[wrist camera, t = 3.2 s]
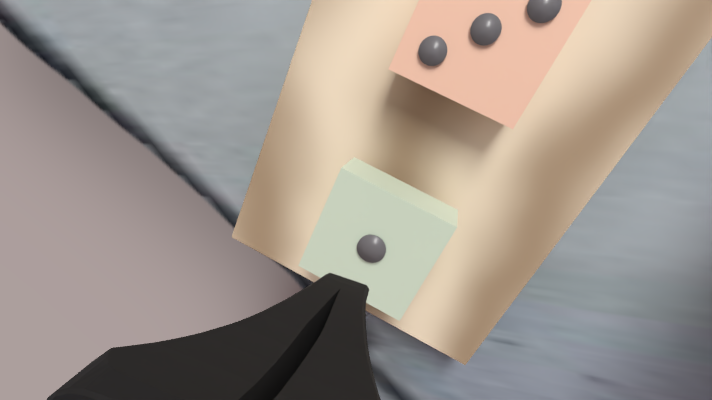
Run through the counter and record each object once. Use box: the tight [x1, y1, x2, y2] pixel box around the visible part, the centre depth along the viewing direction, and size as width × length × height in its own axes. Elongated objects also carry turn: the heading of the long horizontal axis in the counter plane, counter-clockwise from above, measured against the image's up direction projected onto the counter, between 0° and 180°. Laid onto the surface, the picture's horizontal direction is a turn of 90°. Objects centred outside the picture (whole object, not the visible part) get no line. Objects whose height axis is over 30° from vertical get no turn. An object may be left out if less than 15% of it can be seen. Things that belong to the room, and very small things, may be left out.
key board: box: [232, 0, 712, 365], centre depth 16 cm, size 14×28×2 cm, turn 156°
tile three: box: [389, 0, 591, 129], centre depth 14 cm, size 5×5×2 cm
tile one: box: [298, 157, 458, 321], centre depth 17 cm, size 5×5×2 cm
